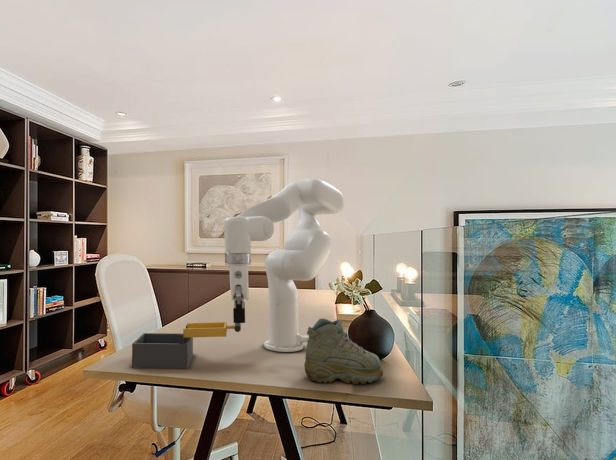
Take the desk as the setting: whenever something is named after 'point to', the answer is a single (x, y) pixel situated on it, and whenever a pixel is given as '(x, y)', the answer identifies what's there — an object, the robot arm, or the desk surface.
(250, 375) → the desk surface
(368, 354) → the sneaker
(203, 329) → the tipping tray
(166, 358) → the bin
